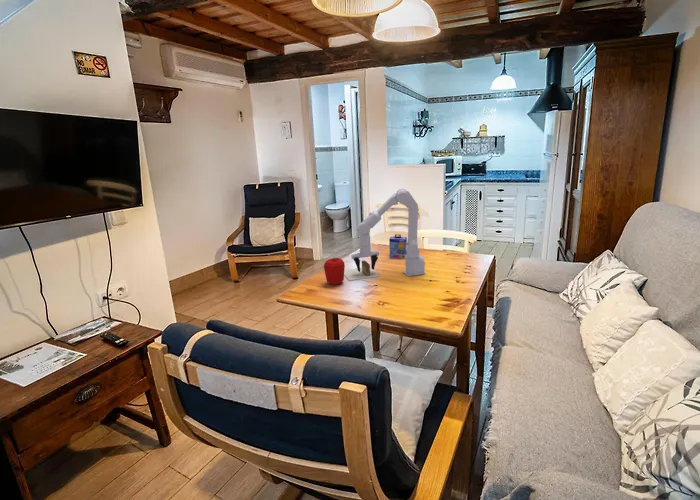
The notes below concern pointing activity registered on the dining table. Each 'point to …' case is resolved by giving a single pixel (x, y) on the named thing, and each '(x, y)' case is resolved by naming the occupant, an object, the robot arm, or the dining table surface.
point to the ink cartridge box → (398, 246)
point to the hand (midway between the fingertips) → (365, 270)
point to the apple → (334, 270)
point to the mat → (358, 274)
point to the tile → (366, 268)
